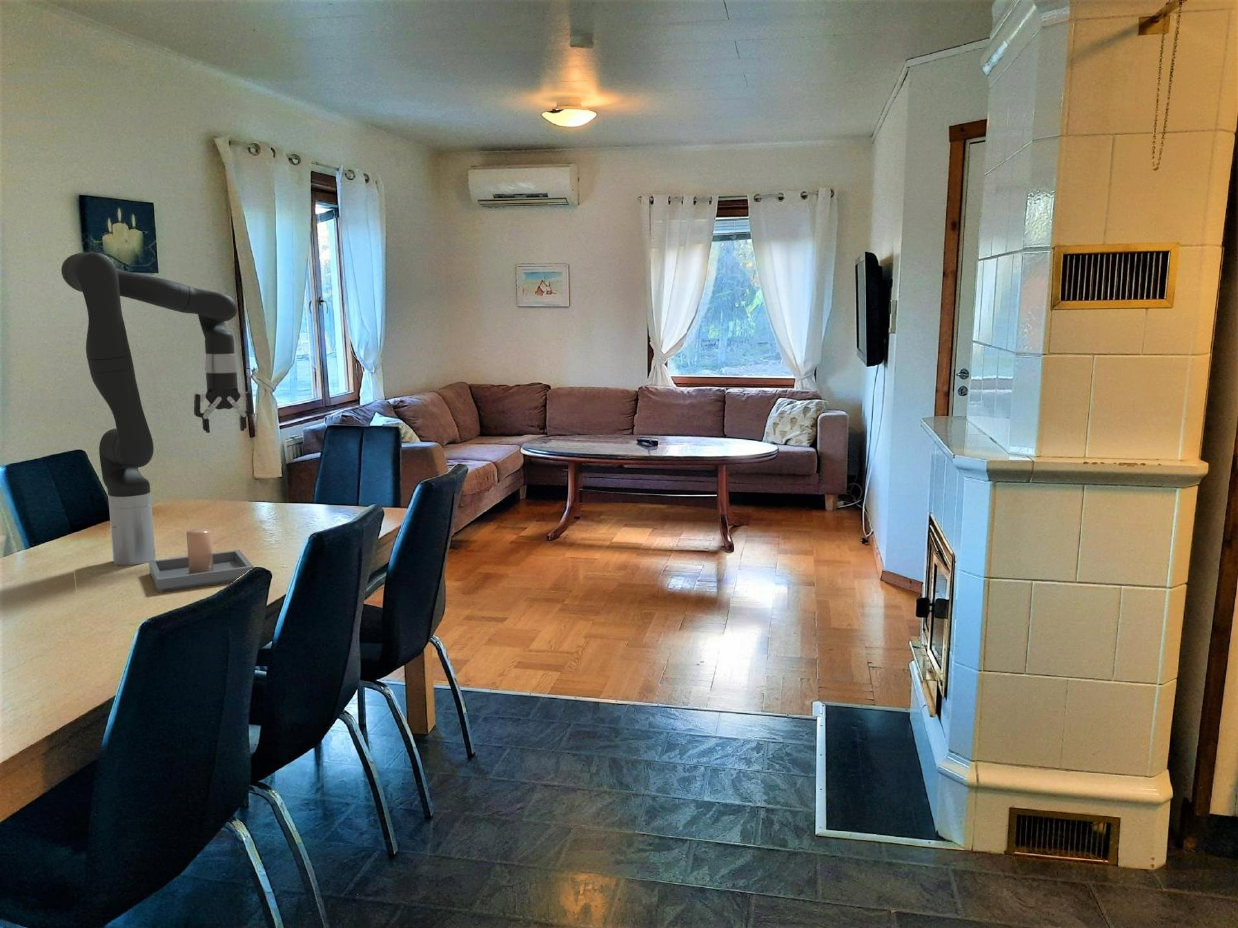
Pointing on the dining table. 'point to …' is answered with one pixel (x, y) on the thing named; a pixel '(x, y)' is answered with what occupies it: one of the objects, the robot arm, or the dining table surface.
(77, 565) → the dining table surface
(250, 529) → the dining table surface
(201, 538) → the terracotta canister
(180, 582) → the charcoal tray
